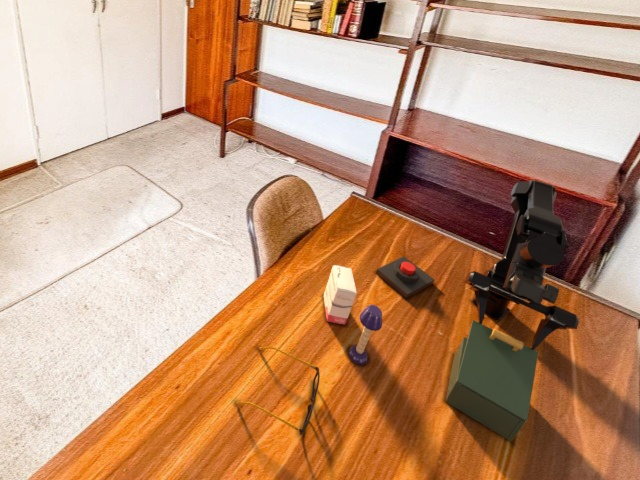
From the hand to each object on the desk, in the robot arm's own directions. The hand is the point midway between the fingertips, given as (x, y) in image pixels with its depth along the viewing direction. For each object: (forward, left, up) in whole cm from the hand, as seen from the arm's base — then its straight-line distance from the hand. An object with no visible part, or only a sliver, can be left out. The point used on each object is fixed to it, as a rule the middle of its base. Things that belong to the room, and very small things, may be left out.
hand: (505, 336), depth 85 cm
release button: (-9, -27, -10) cm, 30 cm away
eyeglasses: (+45, -18, -14) cm, 51 cm away
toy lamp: (+23, -16, -14) cm, 31 cm away
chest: (+5, +2, -13) cm, 15 cm away
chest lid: (+5, +2, -4) cm, 7 cm away
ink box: (+18, -28, -14) cm, 36 cm away
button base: (-9, -27, -13) cm, 31 cm away
